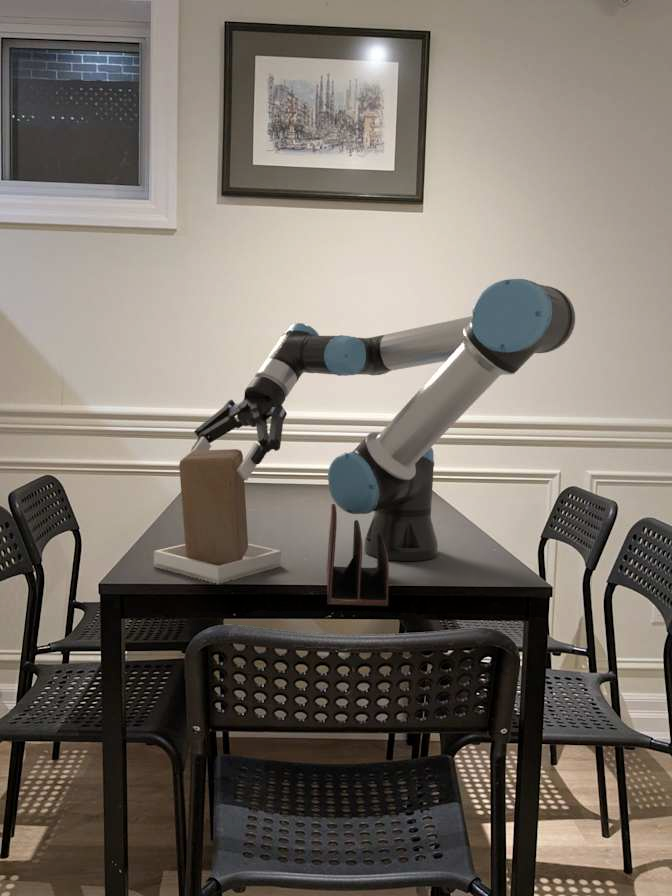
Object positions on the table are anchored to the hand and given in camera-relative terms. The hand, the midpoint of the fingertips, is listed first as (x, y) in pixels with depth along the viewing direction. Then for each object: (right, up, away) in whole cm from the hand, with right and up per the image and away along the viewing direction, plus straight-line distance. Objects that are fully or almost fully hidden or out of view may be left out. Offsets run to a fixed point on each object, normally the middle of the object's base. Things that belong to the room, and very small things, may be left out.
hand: (214, 471), depth 146 cm
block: (0, -17, +3) cm, 17 cm away
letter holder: (+26, -20, -7) cm, 34 cm away
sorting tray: (0, -18, +3) cm, 18 cm away
